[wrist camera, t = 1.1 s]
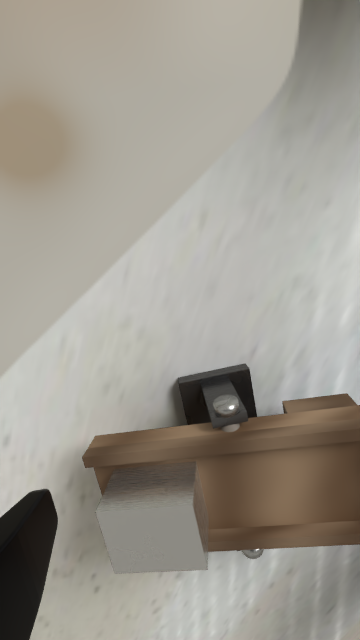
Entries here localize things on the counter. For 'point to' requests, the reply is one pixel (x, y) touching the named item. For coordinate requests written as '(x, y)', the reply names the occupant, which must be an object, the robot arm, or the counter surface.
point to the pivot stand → (220, 403)
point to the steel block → (155, 519)
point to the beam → (260, 473)
